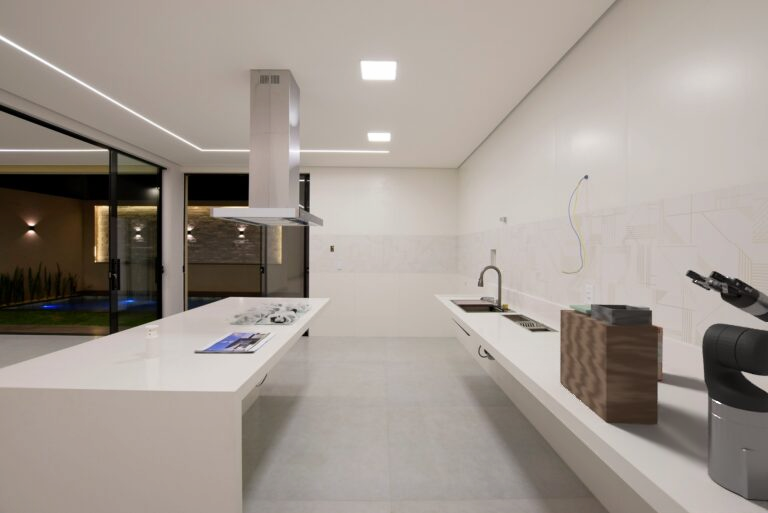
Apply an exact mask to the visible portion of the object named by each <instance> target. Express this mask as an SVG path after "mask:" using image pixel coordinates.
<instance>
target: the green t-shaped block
mask: <svg viewBox="0 0 768 513" xmlns="http://www.w3.org/2000/svg"><path fill="white" fill-rule="evenodd" d="M633 306H634V307H638V308H643V309H647V310H651V309H650V307H649V306H642V305H641V306H640V305H639V306H637V305H636V306H635V305H633ZM569 308H570V309H571V310H575V311H576V312H579V313H582V314H585V315H591V305H578V304H577V305H575V304H570V305H569Z"/></svg>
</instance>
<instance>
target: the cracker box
mask: <svg viewBox="0 0 768 513" xmlns="http://www.w3.org/2000/svg"><path fill="white" fill-rule="evenodd" d="M652 325H653V326H657V327H658V381H663V361H664V359H663V351H664V350H663V349H664V348H663V347H664V346H663V344H664V343H663V338H664V337H663V336H664V327H661V326H658V325H656V324H652Z"/></svg>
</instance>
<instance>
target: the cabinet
mask: <svg viewBox="0 0 768 513" xmlns="http://www.w3.org/2000/svg"><path fill="white" fill-rule="evenodd" d="M590 306H591V315H585V314H582V313H579V312H576V311H575V309H560V328H559V330H560V337H559V338H560V341H559V342H560V344H559V345H560V351H559V352H560V353H559V354H560V355H559V356H560V358H559V362H560V367H559V368H560V369H559V370H560V371H559V373H560V376H559V380H560V381H559V382H560V383H561V384H562V385H563V386H564V387H563V386H562V385H561V384H560V383H559V384H560V385H561V386H562V387H563V388H565V389H566V388H567V389H568V390H569V391H570V392H569V391H568V390H567V389H566V390H567V391H568V392H569V393H571V394H572V395H573V394H574V395H575V396H576V397H575V396H574V395H573V396H574V397H575V398H576V399H578V400H579V401H580V400H581V401H582V402H583V405H585V407H587V406H588V407H589V409H590V410H591V411H592V412H593V411H594V412H595V414H596V415H597V416H598V417H599V418H600V419H601V420H603V421H604V422H605V423H610V424H613V423H615V424H618V423H619V424H631V425H632V424H634V425H637V424H638V425H657V426H658V423H659V422H658V421H659V420H658V418H659V416H658V412H659V411H658V410H659V409H658V408H659V407H658V406H659V401H658V400H659V398H658V397H659V395H658V394H659V392H658V390H659V389H658V388H659V387H658V386H659V384H658V383H659V380H658V327H657V326H658V325H656V326H653V325H654V324H653V310H651V309H650V310H647V309H643V308H638V307H634V306H635V305H628V304H600V303H599V304H598V303H597V304H595V303H594V304H590ZM581 401H580V402H581ZM582 402H581V403H582ZM588 407H587V408H588ZM594 412H593V413H594Z"/></svg>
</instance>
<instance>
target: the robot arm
mask: <svg viewBox="0 0 768 513" xmlns="http://www.w3.org/2000/svg"><path fill="white" fill-rule="evenodd" d="M685 276H686V277H688V278H689V279H691V283H692V284H694V285H697V286H699V287H700V288H702V289H703V290H706V291H711V290H712V291H714V292H716V293H719V294H720V298H721V300H722V301H724V302H726V303H728V304H729V305H730V306H731V305H732V306H733V307H735V308H736V309H738V310H740V311H742V312H745V313H747V314H749V315H751V316H753V317H755V318H757V319H759V320H760V321H762V322H765V323H767V322H768V295H767V294H765V293H763V292H762V291H760V290H758V289H756V288H754V287H753V286H751V285H749V284H748V283H746V282H744V281H742V280H741V279H739V278H736V277H734V278H732V277H730V276H726V275H724V274H722V273H720V272H718V271H716V270H711V273H709V276H708V277H707V276H704V275H702V274H699V273H698V272H695V271H694V270H692V269H689V270H687V272H686V273H685ZM701 343H702V347H701V348H702V352H701V353H702V363H703V379H704V383H705V386H706V388H707V475H708V476H709V478H710V479H711V480H713V481H714V482H715V483H716V484H717V485H720V486H722V487H723V488H725V489H727V490H729V491H731V492H734V493H736V494H738V495H740V496H741V497H743V498H745V499H747V500H756V501H758V500H760V501H762V500H763V501H768V392H767V391H766V390H764V389H763V388H761V387H759V386H757V385H756V384H754V383H753V382H752V381H750V380H749V379H748V378H747V377H746V376H745V375H744V374H743V373H747V374H749V375H755V376H762V377H768V330H765V329H758V328H754V327H747V326H741V325H735V324H730V323H729V324H728V323H719V322H718V323H714V324H711V325H710V326H709V327H707V329H706V330H705V331H704V334H703V336H702V342H701Z"/></svg>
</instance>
